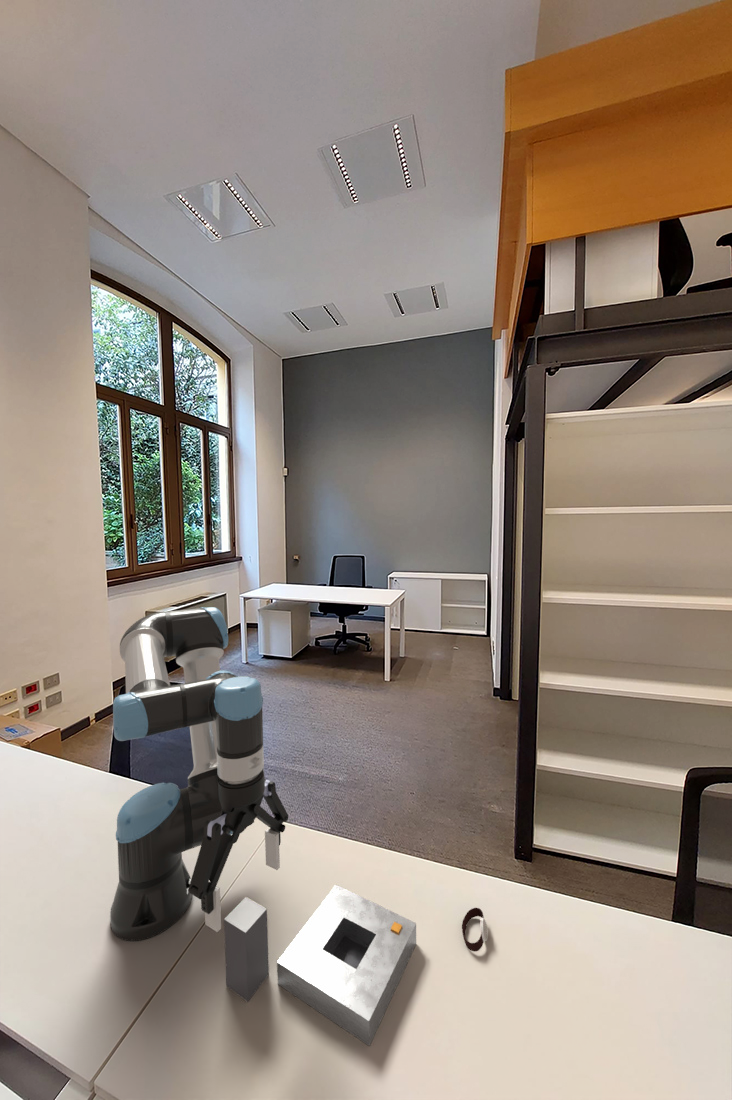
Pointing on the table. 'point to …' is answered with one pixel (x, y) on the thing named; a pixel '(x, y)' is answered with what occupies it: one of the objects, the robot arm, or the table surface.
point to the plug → (246, 948)
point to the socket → (348, 961)
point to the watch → (483, 929)
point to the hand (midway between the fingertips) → (245, 894)
